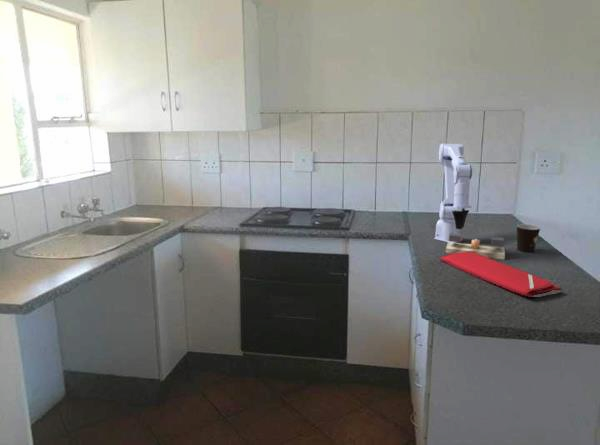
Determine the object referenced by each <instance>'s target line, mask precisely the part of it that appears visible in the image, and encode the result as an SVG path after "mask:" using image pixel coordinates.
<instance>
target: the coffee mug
mask: <svg viewBox="0 0 600 445" xmlns="http://www.w3.org/2000/svg"><path fill="white" fill-rule="evenodd" d="M540 231H541V227H540V226H537V225H534V224H517V225H516V250H517V251H519V252H521V253H525V254H526V253H527V254H529V253H530V254H531V253H534V252H535V250H536V249H535V248H536V246H537V242H538V237H539V235H540V234H539V233H540Z"/></svg>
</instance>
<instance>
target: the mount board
mask: <svg viewBox="0 0 600 445" xmlns="http://www.w3.org/2000/svg"><path fill="white" fill-rule="evenodd" d="M446 243H447V244H446V247H445V254H453V253H460V252H471V253H476V254H479V255H482V256H485V257H487V258H489V259H495V260H505V259H506V258H505V257H506V251H505V247H502V246H493V245H491V246H489V245H483V244H482V245H481V244H480V247H479V249H472V248H471V243H461V242H455V243H453V242H446Z"/></svg>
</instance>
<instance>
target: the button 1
mask: <svg viewBox="0 0 600 445" xmlns="http://www.w3.org/2000/svg"><path fill="white" fill-rule="evenodd" d="M461 239H462V233H459V234H458V233H450V235H449V241H454V242H455V243H461V242H462V241H461Z"/></svg>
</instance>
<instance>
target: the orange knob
mask: <svg viewBox="0 0 600 445" xmlns="http://www.w3.org/2000/svg"><path fill="white" fill-rule="evenodd" d="M470 244H471V248H472V249H479V247H480V245H481V240H480V239H477V238H475V239H471V242H470Z"/></svg>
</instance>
